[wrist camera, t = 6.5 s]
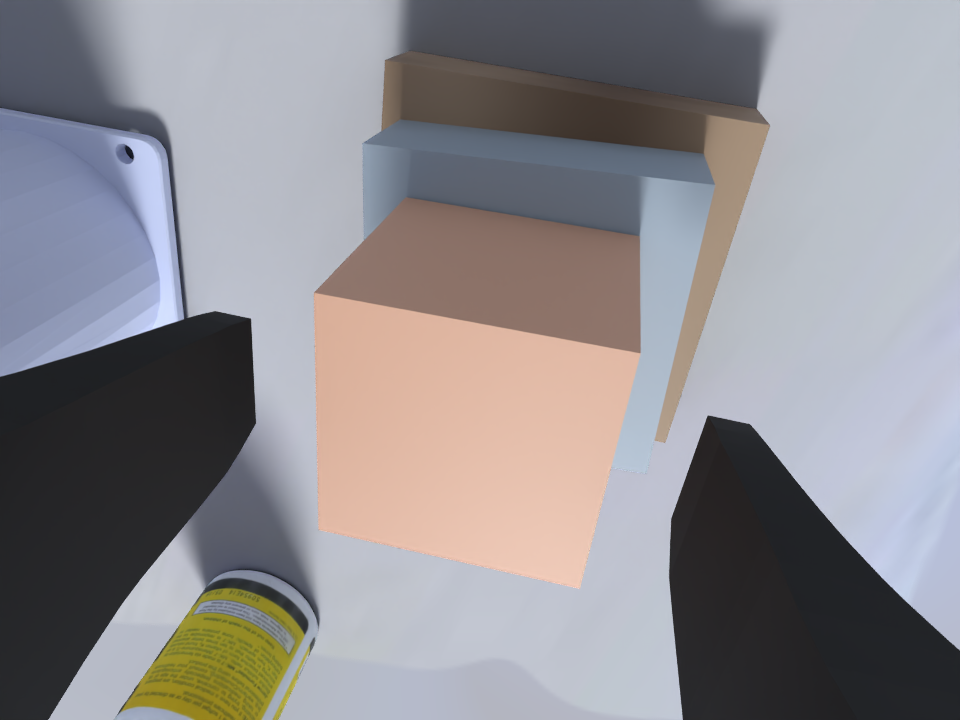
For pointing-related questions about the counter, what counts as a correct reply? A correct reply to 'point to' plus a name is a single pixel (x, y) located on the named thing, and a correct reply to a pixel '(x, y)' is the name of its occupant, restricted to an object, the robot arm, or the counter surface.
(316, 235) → the counter surface
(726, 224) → the walnut base block
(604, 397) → the terracotta block
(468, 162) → the slate middle block
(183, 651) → the supplement bottle
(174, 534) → the robot arm
